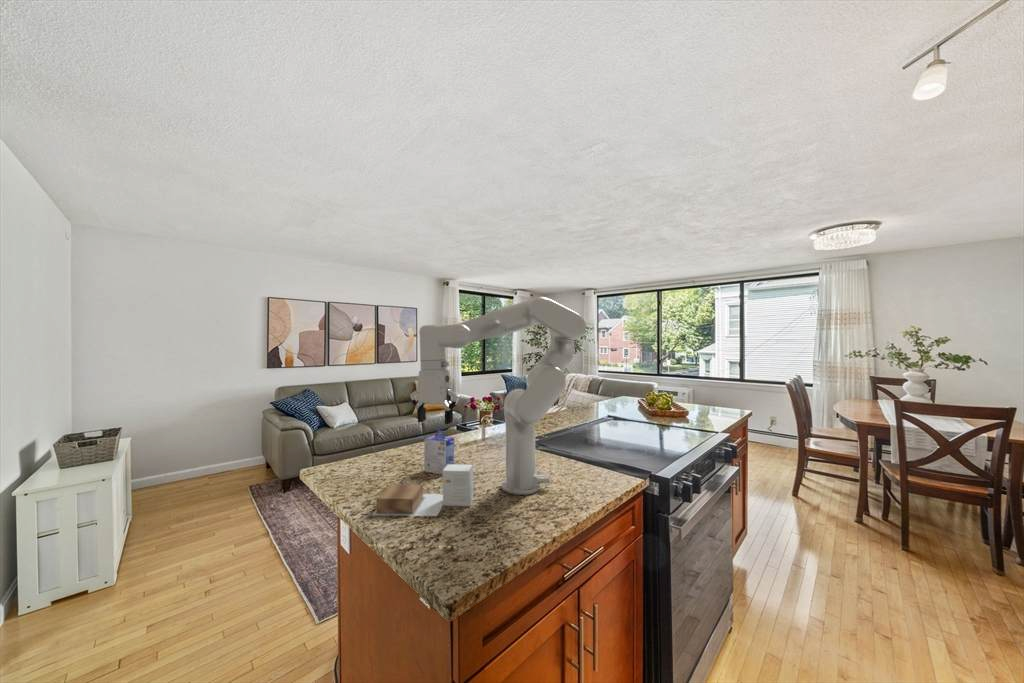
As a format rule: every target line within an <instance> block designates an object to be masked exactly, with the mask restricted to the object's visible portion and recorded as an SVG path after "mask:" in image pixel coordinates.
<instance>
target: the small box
mask: <svg viewBox="0 0 1024 683" xmlns="http://www.w3.org/2000/svg"><path fill="white" fill-rule="evenodd" d="M441 476H442V494H443V506H455V507H457V506H458V507H470V506H471V505H472V503H473V501H474V467H473V464H454V465H452V464H448V465H447V466H446V467H445V468H444V470H443V471H442V474H441Z"/></svg>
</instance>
